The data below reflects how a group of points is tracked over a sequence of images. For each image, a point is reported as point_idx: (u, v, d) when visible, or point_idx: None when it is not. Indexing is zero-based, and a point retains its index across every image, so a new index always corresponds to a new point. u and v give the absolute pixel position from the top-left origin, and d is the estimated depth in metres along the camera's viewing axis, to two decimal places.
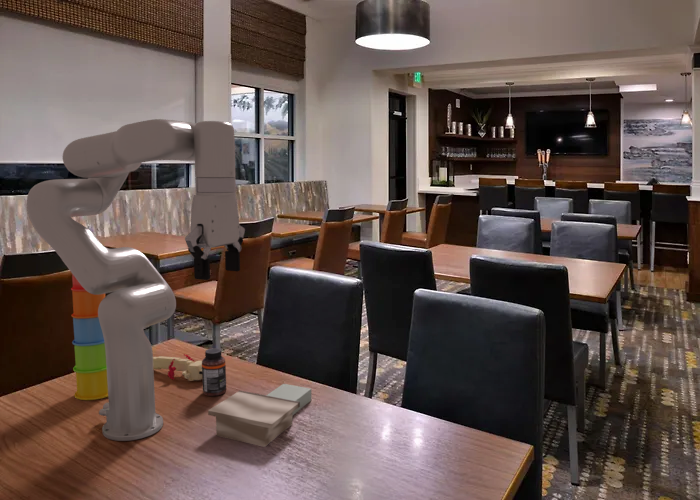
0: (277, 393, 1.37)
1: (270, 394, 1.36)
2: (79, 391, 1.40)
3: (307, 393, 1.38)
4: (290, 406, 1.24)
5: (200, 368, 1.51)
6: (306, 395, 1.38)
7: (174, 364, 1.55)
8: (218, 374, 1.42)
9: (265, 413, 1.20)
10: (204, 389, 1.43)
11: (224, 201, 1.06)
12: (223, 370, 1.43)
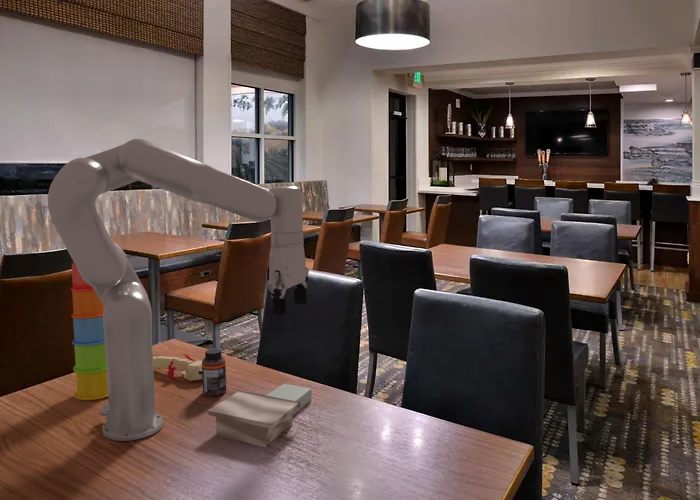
0: (277, 393, 1.37)
1: (270, 394, 1.36)
2: (79, 391, 1.40)
3: (307, 393, 1.38)
4: (290, 406, 1.24)
5: (200, 368, 1.51)
6: (306, 395, 1.38)
7: (174, 364, 1.55)
8: (218, 374, 1.42)
9: (265, 413, 1.20)
10: (204, 389, 1.43)
11: (295, 250, 1.31)
12: (223, 370, 1.43)
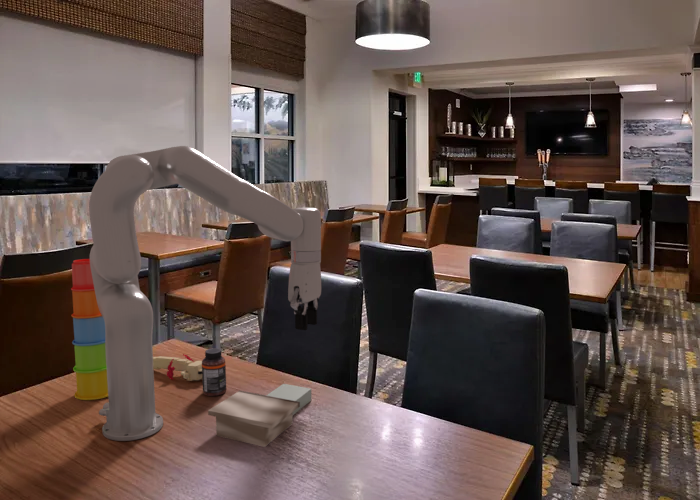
0: (277, 393, 1.37)
1: (270, 394, 1.36)
2: (79, 391, 1.40)
3: (307, 393, 1.38)
4: (290, 406, 1.24)
5: (199, 368, 1.51)
6: (306, 395, 1.38)
7: (173, 364, 1.55)
8: (218, 374, 1.42)
9: (265, 413, 1.20)
10: (204, 389, 1.43)
11: (313, 267, 1.40)
12: (223, 370, 1.43)
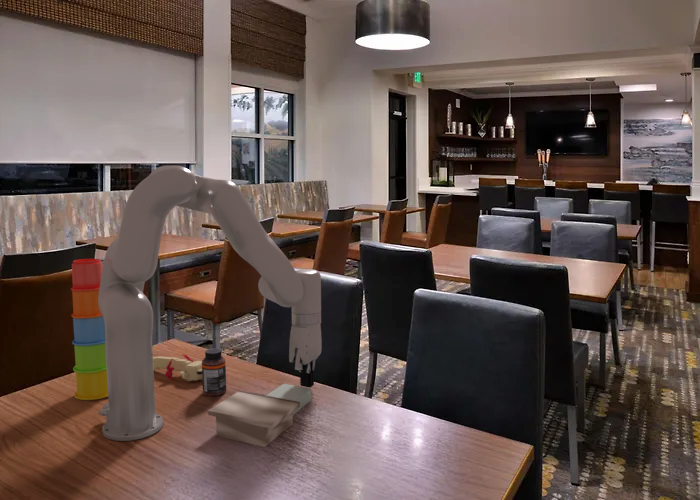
0: (277, 393, 1.37)
1: (270, 394, 1.36)
2: (79, 391, 1.40)
3: (307, 393, 1.38)
4: (290, 406, 1.24)
5: (198, 368, 1.51)
6: (306, 395, 1.38)
7: (172, 364, 1.55)
8: (218, 374, 1.42)
9: (265, 413, 1.20)
10: (204, 389, 1.43)
11: (314, 329, 1.43)
12: (223, 370, 1.43)
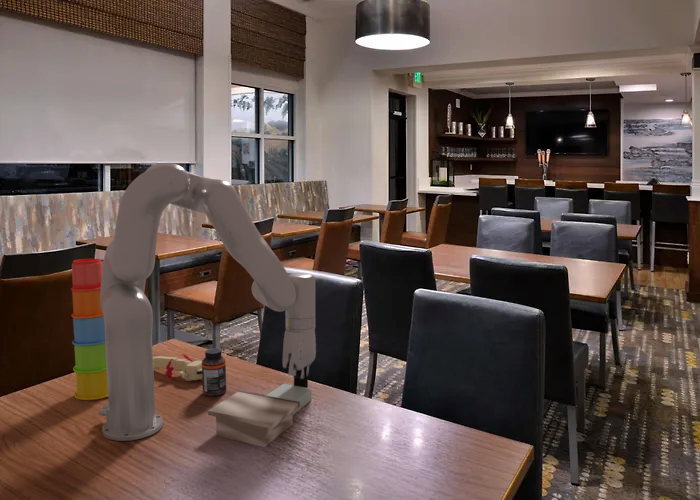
0: (277, 393, 1.37)
1: (270, 394, 1.36)
2: (79, 391, 1.40)
3: (307, 393, 1.38)
4: (290, 406, 1.24)
5: (197, 368, 1.51)
6: (306, 395, 1.38)
7: (172, 364, 1.55)
8: (218, 374, 1.42)
9: (265, 413, 1.20)
10: (204, 389, 1.43)
11: (308, 334, 1.40)
12: (223, 370, 1.43)
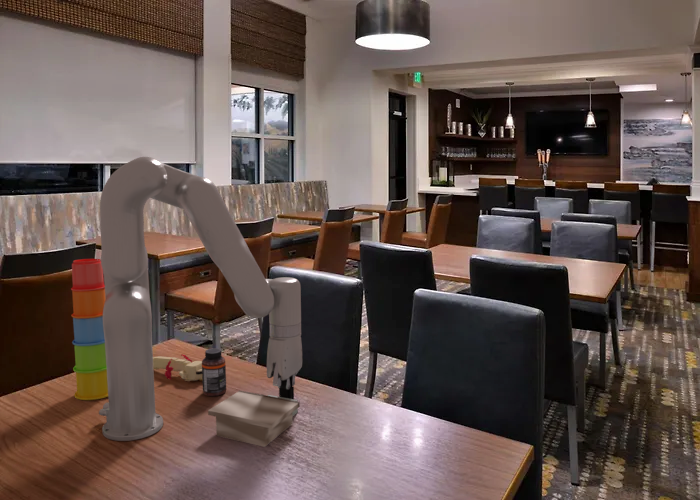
0: None
1: None
2: (79, 391, 1.40)
3: None
4: (290, 406, 1.24)
5: (197, 368, 1.51)
6: None
7: (171, 364, 1.55)
8: (218, 374, 1.42)
9: (265, 413, 1.20)
10: (204, 389, 1.43)
11: (293, 341, 1.33)
12: (223, 370, 1.43)
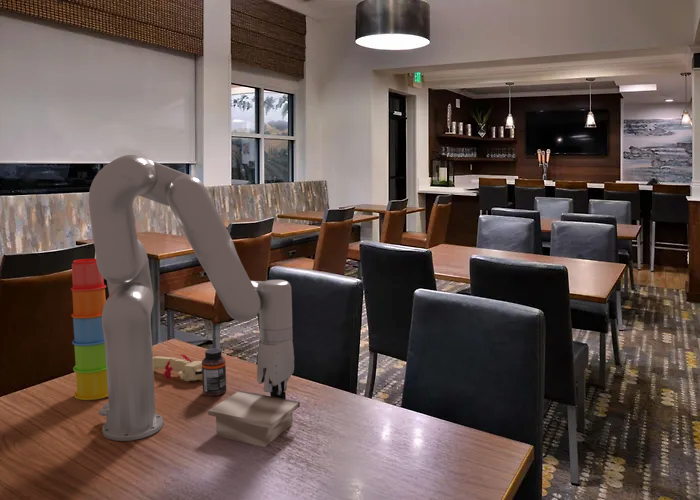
0: None
1: None
2: (79, 391, 1.40)
3: None
4: (290, 406, 1.24)
5: (196, 368, 1.51)
6: None
7: (171, 364, 1.55)
8: (218, 374, 1.42)
9: (265, 413, 1.20)
10: (204, 389, 1.43)
11: (284, 346, 1.29)
12: (223, 370, 1.43)
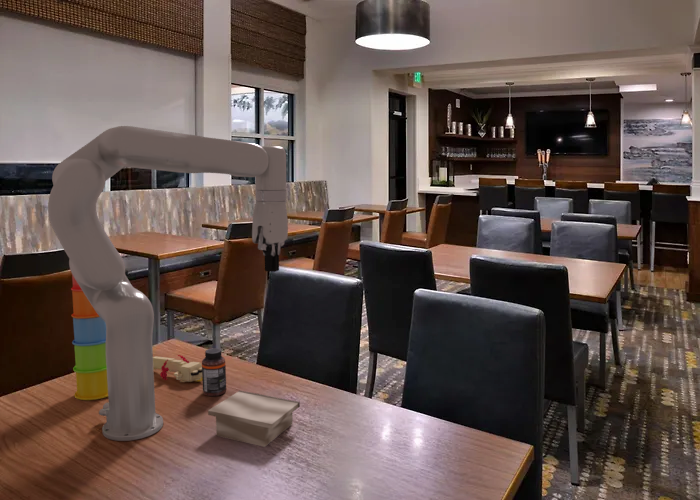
0: None
1: None
2: (79, 391, 1.40)
3: None
4: (290, 406, 1.24)
5: (192, 370, 1.50)
6: None
7: (168, 365, 1.55)
8: (218, 374, 1.42)
9: (265, 413, 1.20)
10: (204, 389, 1.43)
11: (278, 208, 1.36)
12: (223, 370, 1.43)
